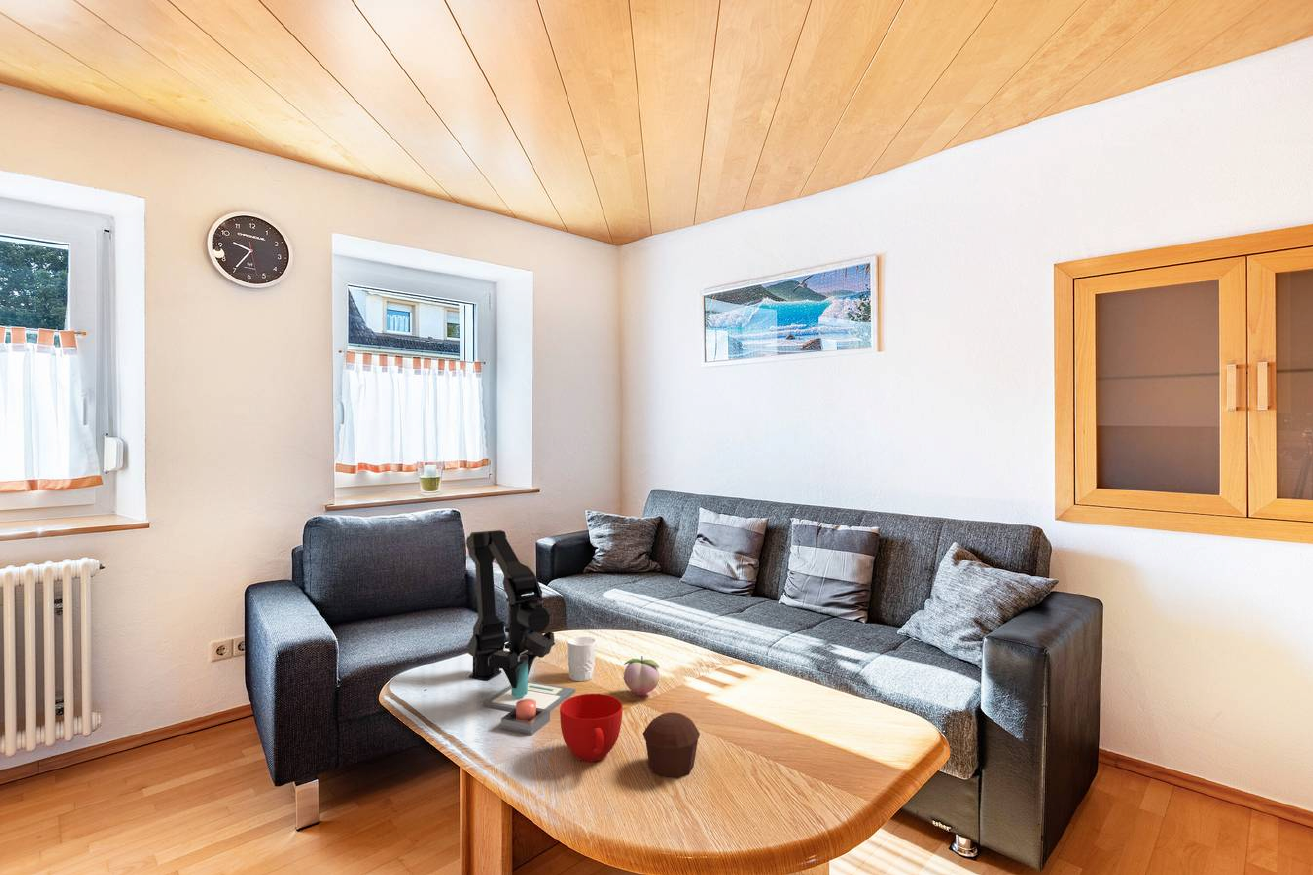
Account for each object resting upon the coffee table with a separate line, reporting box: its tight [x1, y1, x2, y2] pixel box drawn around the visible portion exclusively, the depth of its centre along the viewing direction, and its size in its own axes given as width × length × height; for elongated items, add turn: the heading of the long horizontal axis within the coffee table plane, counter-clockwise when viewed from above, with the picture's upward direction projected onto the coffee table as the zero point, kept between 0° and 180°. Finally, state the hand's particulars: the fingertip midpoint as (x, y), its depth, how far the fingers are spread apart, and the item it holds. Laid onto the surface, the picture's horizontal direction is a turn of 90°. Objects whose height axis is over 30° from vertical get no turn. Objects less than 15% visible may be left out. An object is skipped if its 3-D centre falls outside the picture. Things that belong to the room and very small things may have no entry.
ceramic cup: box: [559, 693, 624, 763], centre depth 130 cm, size 13×17×10 cm
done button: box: [516, 699, 536, 721], centre depth 145 cm, size 4×4×4 cm
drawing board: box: [482, 680, 576, 712], centre depth 159 cm, size 17×16×1 cm
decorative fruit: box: [623, 655, 660, 696], centre depth 163 cm, size 9×8×10 cm
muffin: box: [642, 712, 701, 779], centre depth 127 cm, size 12×11×10 cm
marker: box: [511, 654, 529, 696], centre depth 158 cm, size 4×4×9 cm
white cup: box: [566, 635, 597, 682], centre depth 174 cm, size 8×8×10 cm
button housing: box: [500, 708, 551, 736], centre depth 145 cm, size 8×8×2 cm
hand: (519, 684), depth 158 cm, fingers closed on marker, 4 cm apart
